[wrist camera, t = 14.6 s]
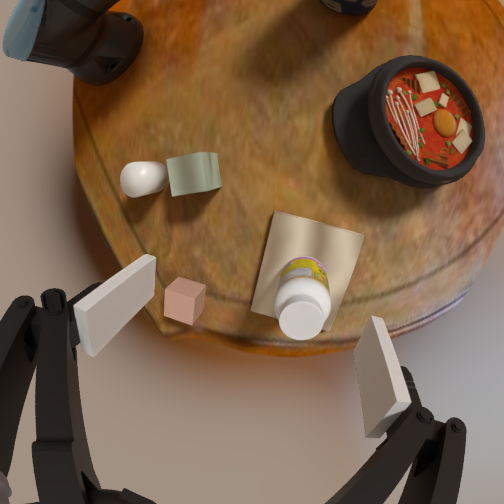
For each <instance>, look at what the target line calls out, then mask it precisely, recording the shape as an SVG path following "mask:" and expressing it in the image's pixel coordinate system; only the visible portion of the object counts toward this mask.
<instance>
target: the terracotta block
mask: <svg viewBox="0 0 504 504" xmlns="http://www.w3.org/2000/svg"><path fill="white" fill-rule="evenodd" d="M205 291H206V285H204V284H201V283H197V282H194V281H191V280H187V279H184V278H181V277H178V278H177V279H176V280H175V281H173V282H172V283H171V284H170V285H169V286H168V287H167V288H166V289H165V302H164V316H166V317H169V318H172V319H175V320H178V321H180V322H183V323H186V324H189V325H193V324H194V322H195V321H196V319H197V318H198V317H199V315H200V314H201V312H202V311H203V305H204V298H205Z"/></svg>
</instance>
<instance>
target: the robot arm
mask: <svg viewBox="0 0 504 504" xmlns="http://www.w3.org/2000/svg"><path fill="white" fill-rule="evenodd" d="M118 1H120V0H19V2H18V4H17V5H16V7H15V9H14V10H13V12H12V14H11V16H10V19H9V21H8V24H7V27H6V29H5V33H4V38H3V51H4V53H5V55H6V56H8V57H11V58H15V59H18V60H21V61H31V62H37V63H42V64H48V65H53V66H58V67H63V68H67V69H68V70H69V71H70V72H72V73H73V74H74V75H75V76H76V77H77V78H79V79H80V80H81V81H83V82H85V83H88V84H92V85H103V84H106V83H109V82H111V81H112V80H114V79H116V78H117V77H118V76H120V75H121V74H122V73H123V72H124V71H125V70H126V69H127V68H128V67H129V66H130V64H131V63H132V62H133V60H134V59H135V57H136V55H137V54H138V52H139V49H140V47H141V44H142V40H143V27H142V24H141V22H140V21H139V20H138V19H137V18H135V17H134V16H132V15H131V14H128V13H125V12H117V11H107V10H109V9H110V8H111V7H112V6H113V5H115V4H116V3H117V2H118ZM155 267H156V257H154V256H151V255H148V254H145V255H143V256H142V257H140V258H139V259H137V260H136V261H134V262H133V263H131V264H130V265H129V266H127V267H126V268H124V269H123V270H121V271H120V272H119V273H117V274H116V275H114V276H113V277H111V278H110V279H109V280H107V281H106V282H105V283H100V282H98V283H95V284H92V285H91V286H89V287H88V288H86V289H85V290H83V291H82V292H80V294H78V295H76V296H75V297H74V298H72V299H71V300H69V301H68V302H67V300H66V294H65V292H64V291H63V290H61V289H56V288H53V289H48V290H46V291H44V292H43V293H42V294H41V296H40V297H41V302H42V306H43V308H41V307H37V306H35V303H34V299H33V298H32V297H30V296H20V297H18V298H16V299H15V300H14V301H13V302H12V304H11V305H10V307H9V308H8V310H7V311H6V313H5V314H4V316H3V318H2V319H1V321H0V504H10V503H9V499H8V497H10V496H11V493H12V491H11V488H10V487H9V483H8V480H7V478H6V477H7V475H8V472H9V469H10V465H11V461H12V456H13V450H14V444H15V439H16V434H17V430H18V426H19V421H20V417H21V413H22V410H23V406H24V402H25V399H26V395H27V392H28V389H29V386H30V382H31V380H32V376H33V373H34V371H35V368H36V365H37V368H36V390H35V392H36V393H35V415H36V435H37V439H36V441H34V442H33V443H32V458H33V467H34V474H35V480H36V485H37V491H38V496H39V501H40V502H35V503H28V504H156V503H155V502H153V501H152V500H150V499H147V498H145V497H142V496H140V495H138V494H136V493H134V492H132V491H130V490H128V489H125V488H124V489H123V490H122V492H121V491H116V490H108V489H101V486H100V483H99V481H98V478H97V476H96V474H95V471H94V469H93V465H92V461H91V457H90V452H89V448H88V443H87V438H86V433H85V427H84V421H83V415H82V407H81V399H80V391H79V380H78V367H77V350H76V345H78V344H79V343H80V344H81V348H82V351H83V352H85V353H87V354H88V355H90V356H92V357H95V355H96V354H97V353H98V352H99V351H100V350H101V349H102V348H103V347H104V346H105V345H106V344H107V343H108V342H109V341H110V340H111V339H112V338H113V337H114V336H115V335H116V334H117V333H118V332H119V330H120V329H121V328H122V327H123V326H124V325H125V324H126V323H127V322H128V321H129V320H130V319H131V318H132V317H133V316H134V315H135V314H136V313H137V312H138V311H139V310H140V309H141V308H142V307H143V306H144V305H145V304H146V303H147V302H148V301H149V300H150V299H151V298H152V297H153V296H154V285H155ZM353 352H354V357H355V364H356V369H357V376H358V382H359V389H360V396H361V403H362V411H363V419H364V428H365V437H368V438H380V437H381V436H382V435H383V434H384V433H385V432H386V433H387V438H386V439H385V440H384V441H383V442H382V443H381V444H380V445H379V446H378V447H377V448H376V451H375V453H374V454H373V455H372V456H371V457H370V458H369V460H368V461H367V462H366V463H365V464H364V465H363V466H362V467H361V468H360V469H359V471H358V472H357V473H356V474H355V475H354V476H353V477H352V478H351V479H350V480H349V481H348V482H347V483H346V484H345V485H344V486H343V487H342V488H341V489H340V490H339V491H338V492H337V493H336V494H335V495H334V496H333V497H332V498H331V499H329V500H328V501H327V502H326V503H325V504H383V503H384V502H385V500H386V499H387V498H388V497H389V495H390V494H391V493H392V491H393V490H394V489H395V487H396V486H397V484H398V483H399V481H400V480H401V479H402V477H403V476H404V474H405V472H406V471H407V469H408V468H409V466H410V465H411V463H412V462H413V463H412V466H411V469H410V473H409V475H408V479H407V481H406V484H405V487H404V490H403V493H402V495H401V497H400V500H399V502H398V504H456V502H457V498H458V493H459V488H460V482H461V477H462V470H463V463H464V454H465V443H466V426H465V424H464V423H463V422H462V421H461V420H460V419H458V418H455V417H453V418H450V419H449V420H448V421H447V422H446V423H442V422H439V421H436V420H434V416H433V414H432V413H431V412H430V411H429V410H428V409H427V408H425V407H422V405H421V402H420V399H419V396H418V393H417V390H416V388H415V384H414V382H413V378H412V375H411V373H410V372H409V371H408V370H407V368H406V367H403V366H400V365H399V362H398V359H397V356H396V353H395V351H394V348H393V345H392V342H391V339H390V337H389V334H388V332H387V329H386V326H385V324H384V321H383V319H382V318H379V317H375V316H371V317H370V319H369V321H368V323H367V325H366V328H365V330H364V332H363V334H362V336H361V338H360V339H359V341H358V343H357V345H356V347H355V349H354V351H353Z"/></svg>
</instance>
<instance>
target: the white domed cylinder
mask: <svg viewBox="0 0 504 504" xmlns="http://www.w3.org/2000/svg"><path fill="white" fill-rule="evenodd" d="M168 179H169V174H168V170H167V168H166V167H165V165H164V164H162V163H161V162H158V161H149V162H132V163H129V164H127V165H126V166H125V167H124V169H123V170H122V172H121V176H120V184H121V187H122V190H123V191H124V193H125V194H126V195H128V196H129V197H133V198H134V197H140V196H144V195H148V194H152V193H156V192H160V191H162V190H163V189H164V188H165V187H166V185H167V183H168Z"/></svg>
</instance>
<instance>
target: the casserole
mask: <svg viewBox="0 0 504 504" xmlns="http://www.w3.org/2000/svg"><path fill="white" fill-rule="evenodd" d="M332 122H333V127H334V133H335V136H336V139H337V141H338V144H339V147H340V149H341V150H342V152H343V154H344V156H345V157H346V159H347V160H348V161H349V163H350V164H351V165H352V166H353V167H354V168H355V169H357V170H358V171H360V172H362V173H363V174H369V175H376V176H382V177H388V178H391V179H393V180H396V181H399V182H401V183H404V184H406V185H409V186H412V187H418V188H433V187H436V186H439V185H444V184H449V183H452V182H455V181H457V180H459V179H460V178H462V177H464V176H465V175H466V174H467V173H468V172H469V171H470V170H471V168H472V167H473V165H474V164H475V162H476V160H477V158H478V157H479V156H480V155H481V153H482V151H483V149H484V143H485V128H484V122H483V117H482V112H481V109H480V107H479V104H478V101H477V99H476V97H475V95H474V94H473V92H472V90H471V89H470V87H469V86H468V85H467V83H466V82H465V81H464V80H463V79H462V78H461V77H460V76H459V75H458V74H457V73H456V72H455V71H453V70H452V69H451V68H449V67H448V66H446V65H444V64H442V63H440V62H438V61H435V60H432V59H429V58H425V57H422V56H413V55H408V56H401V57H397V58H395V59H392V60H390V61H388V62H387V63H384V64H382V65H380V66H377V67H376V68H375V69H374V70H372V71H371V72H370V73H369V74H367V75H366V76H365V77H364V78H363V79H361V80H360V81H358V82H356V83H354V84H352V85H350V86H348V87H346V88H345V89H343V90H341V91H340V92H339V93H338V95H337V96H336V98H335V99H334V104H333V108H332Z"/></svg>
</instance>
